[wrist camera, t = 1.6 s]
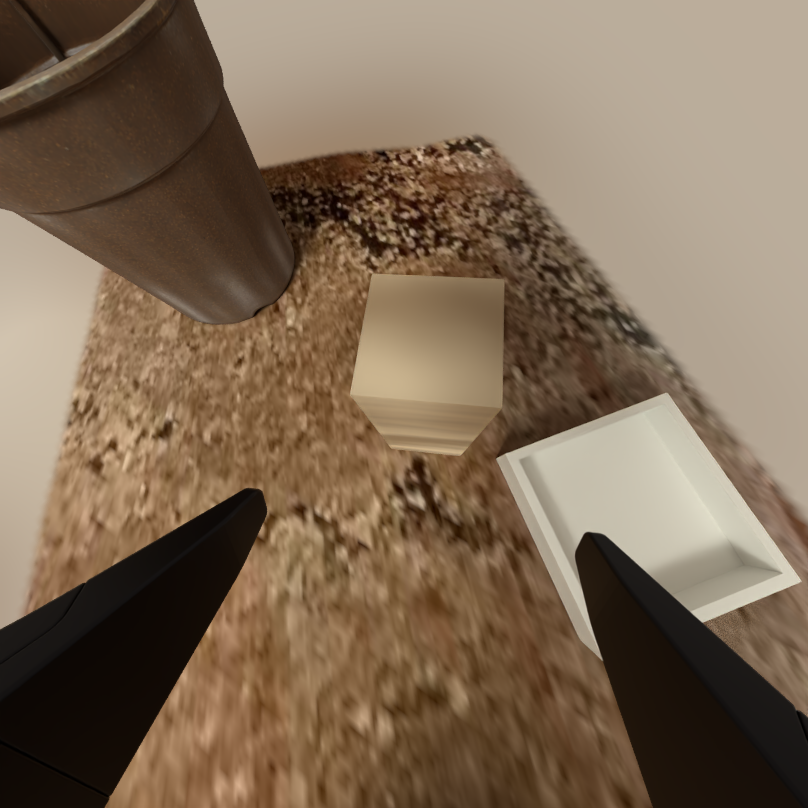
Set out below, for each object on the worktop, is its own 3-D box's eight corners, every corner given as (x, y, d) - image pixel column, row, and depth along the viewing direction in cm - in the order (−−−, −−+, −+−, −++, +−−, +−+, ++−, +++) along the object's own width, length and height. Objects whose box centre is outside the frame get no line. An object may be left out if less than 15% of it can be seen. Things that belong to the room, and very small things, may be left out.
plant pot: (312, 343, 24) (115, 83, 9) (134, 355, 25) (-320, 140, 10) (322, 202, 29) (207, -120, 14) (173, 217, 30) (-89, -68, 15)
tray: (749, 569, 17) (801, 581, 15) (579, 639, 17) (604, 663, 14) (639, 404, 21) (667, 392, 18) (495, 458, 20) (505, 453, 18)
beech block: (460, 456, 20) (502, 408, 9) (391, 448, 21) (350, 394, 10) (463, 391, 22) (504, 279, 11) (399, 385, 22) (372, 273, 11)
